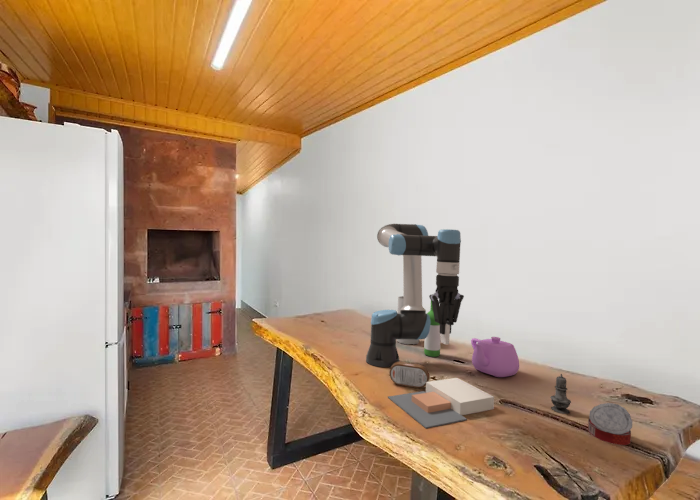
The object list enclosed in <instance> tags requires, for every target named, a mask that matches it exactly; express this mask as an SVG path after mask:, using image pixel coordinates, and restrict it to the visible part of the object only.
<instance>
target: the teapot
mask: <svg viewBox="0 0 700 500" xmlns="http://www.w3.org/2000/svg"><path fill="white" fill-rule="evenodd" d="M470 342H471V343H470V344H471V346H472V349H473V352H472V356H471V363H472V366H473V368H474V369H475V370H477V371H479V372H481V373H485V374H487V375H491V376H493V377H495V378H507V377H512V376H514V375H516V374H517V373H518V371H519V370H520V361H519V357H518V354H517V350H516V348H515V346H514V344H513V343H510V342H507V341H503V340H501V337H499V336H491V338H486V339H479V338H475V337H474V338H471V339H470Z"/></svg>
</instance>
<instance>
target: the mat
mask: <svg viewBox="0 0 700 500" xmlns="http://www.w3.org/2000/svg"><path fill="white" fill-rule="evenodd" d="M422 393H426V390H422V391H415V392H410V393H402V394H396V395H389V396H387V399H389V400H390V402H391V401H392V402H393V403H394V404H395V405H396V406H398V407H399V408H400V409H401V410H403V412H404V413H406V414H407V415H408V416H410V417H411V418H412V419H414V421H416V422H417V423H419V425H421V427H424V428H425V429H431V428H435V427H440V426H445V425H450V424H456V423H458V422H464V421H467V420H468V419H467V418H466V417H465V416H464V415H460V414H459V413H457V412H456V411H454V410H453V409H446V410H440V411H435V412H430V413H427V412H426V411H424V410H423V409H422V408H420V407H419V406H418V405H416V404H415V403H414V402H412V395H416V394H422Z"/></svg>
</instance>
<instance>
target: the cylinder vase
mask: <svg viewBox="0 0 700 500" xmlns="http://www.w3.org/2000/svg"><path fill="white" fill-rule="evenodd" d="M403 306H404V295H402V296H397V314H400V309H401V308H402V307H403ZM396 342H398V343H399V344H401V345H402V344H403V345H408V344H413V345H417V344H419V342H420V339H418V340H414V339H396Z"/></svg>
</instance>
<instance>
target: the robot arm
mask: <svg viewBox="0 0 700 500" xmlns="http://www.w3.org/2000/svg"><path fill="white" fill-rule="evenodd" d="M376 237H377V242H378V243H379V245H381V246H383V248H388V251H389V254H390V255H394V256H402V259H403V260H402V264H403V272H402V273H403V276H402V277H403V296H404V306H403V307H402V308H401V309H400V314H398V310H396V309H380V310H376V311H375V312H373V313H372V314H371V318H370V342H369V347H368V350H367V354H366V355H365V361H366V363H367V364H368V365H370V366H375V367H379V368H380V367H381V368H391V366H392V365H393V364H394V363H396V362H400V355H399V353H398V350H397V349H398V348H397V339H414V340H418V339H419V340H425V338H426V337H427V336H428V334H429V331H430V316H429V315H428V314H427V312H426V311H427V310H426V309H425V308H424V307H423V275H422V273H423V272H422V271H423V270H422V267H423V266H422V257H436V276H435V277H436V278H435V286H436V289H435V292H434V293H433V295H432V294H430V295H428V296H429V299H430V302H431V301H432V307H433V313H434V319H435V322H437V323H439V324H440V333H441V342H440V344H441V343H442V344H444V345H450V334H452V326H453V325H454V324H455V323H457V320H458V317H459V312H460V309H461V305H462V302H463V300H464V297H465V296H464V295H463V294H461V293H459V289H458V287H459V285H460V283H459V282H460V276H459V274H460V258H461V244H462V243H461V242H462V240H461V239H462V238H461V231H460V230H459V229H448V228H447V229H444V228H443V229H439V230H438V231H437V235H429V233H428V230H427V228H426V227H425V226H424V225H423V224H414V223H413V224H412V223H411V224H410V223H407V224H406V223H390V224H389V223H388V224H385V225H384V226H382V227H380V228H379V230H378V231H377V235H376Z"/></svg>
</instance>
